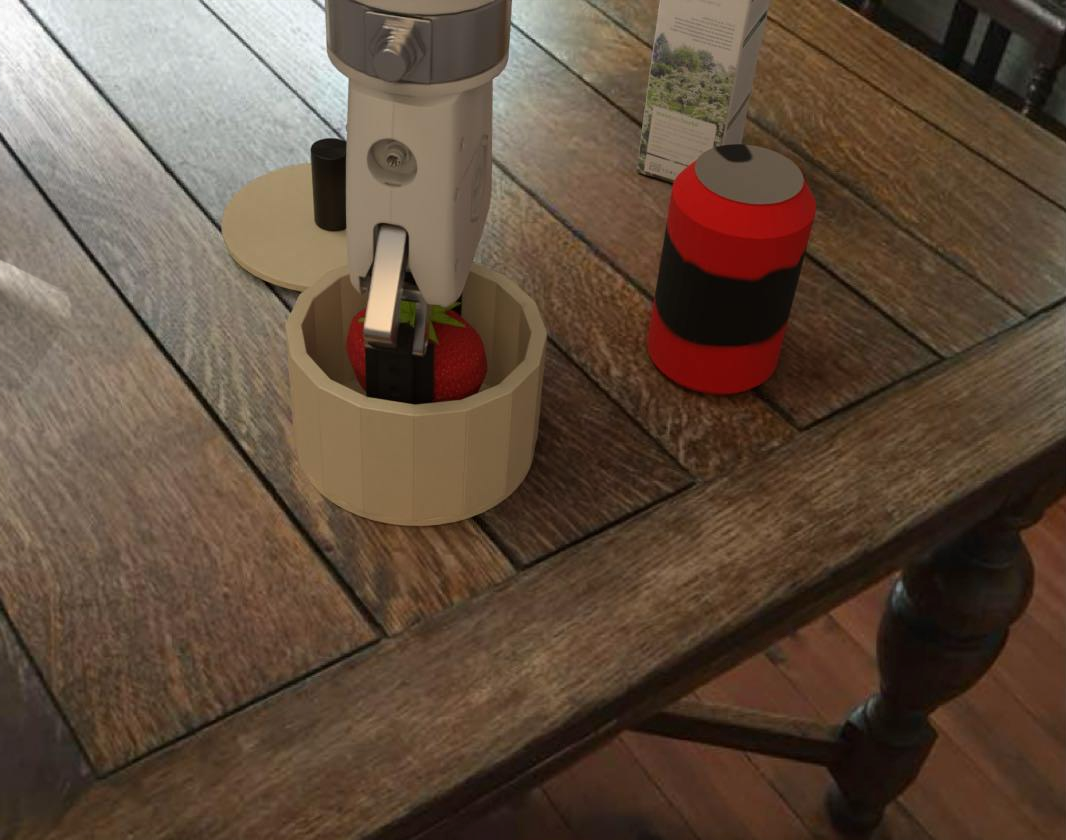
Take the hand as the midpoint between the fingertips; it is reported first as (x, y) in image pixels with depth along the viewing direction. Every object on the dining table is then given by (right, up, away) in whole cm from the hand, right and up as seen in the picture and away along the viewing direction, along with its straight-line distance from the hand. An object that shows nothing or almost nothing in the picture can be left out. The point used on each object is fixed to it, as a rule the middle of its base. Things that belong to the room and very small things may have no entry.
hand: (415, 359), depth 68 cm
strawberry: (0, -4, +4) cm, 5 cm away
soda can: (+16, +1, +11) cm, 20 cm away
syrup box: (+16, +16, +25) cm, 34 cm away
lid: (-6, +10, +16) cm, 20 cm away
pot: (0, -4, +4) cm, 5 cm away
